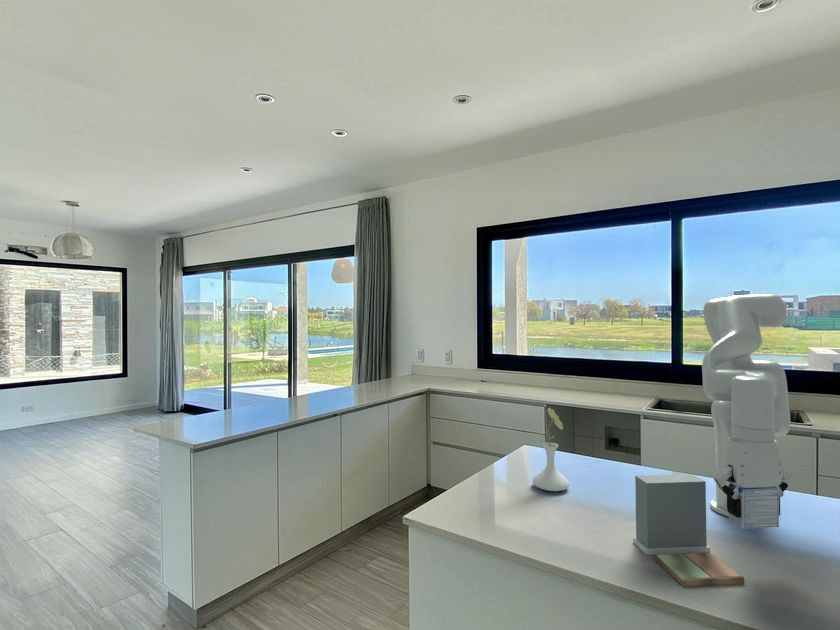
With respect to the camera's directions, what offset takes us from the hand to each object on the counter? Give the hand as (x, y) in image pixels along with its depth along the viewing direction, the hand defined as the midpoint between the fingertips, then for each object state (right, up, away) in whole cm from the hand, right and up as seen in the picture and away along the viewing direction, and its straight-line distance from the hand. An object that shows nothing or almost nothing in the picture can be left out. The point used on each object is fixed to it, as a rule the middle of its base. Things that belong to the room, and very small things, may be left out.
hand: (753, 513), depth 97 cm
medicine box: (0, -2, 0) cm, 2 cm away
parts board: (-13, -12, -1) cm, 18 cm away
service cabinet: (-13, -12, +9) cm, 20 cm away
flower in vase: (-30, -13, +48) cm, 58 cm away
